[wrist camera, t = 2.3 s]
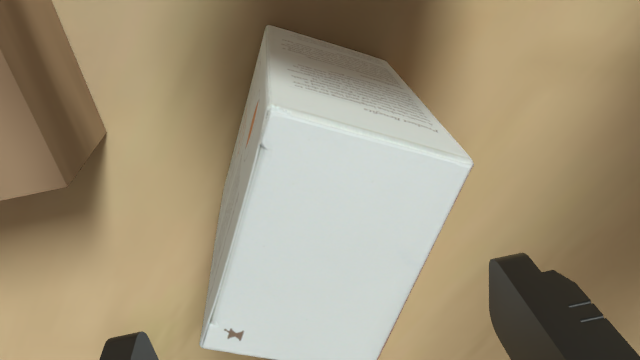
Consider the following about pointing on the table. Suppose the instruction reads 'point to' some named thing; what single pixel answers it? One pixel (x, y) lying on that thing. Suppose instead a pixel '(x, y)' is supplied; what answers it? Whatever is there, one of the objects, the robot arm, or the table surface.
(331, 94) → the small box
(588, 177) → the table surface
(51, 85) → the walnut block
